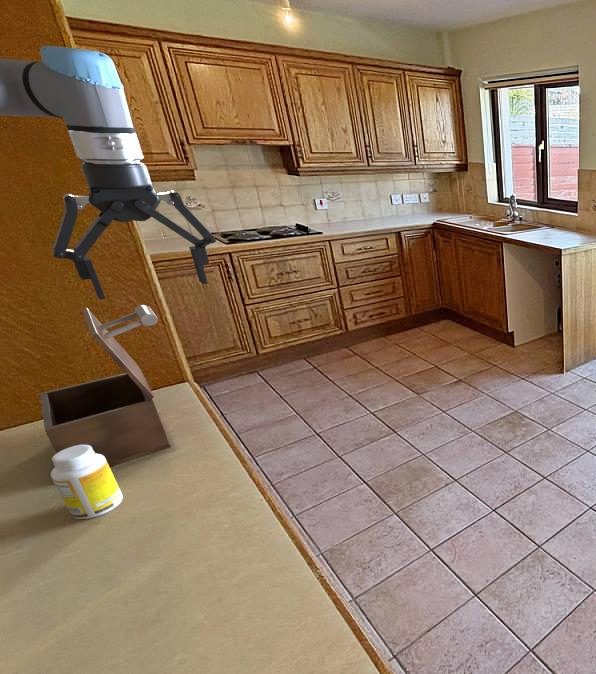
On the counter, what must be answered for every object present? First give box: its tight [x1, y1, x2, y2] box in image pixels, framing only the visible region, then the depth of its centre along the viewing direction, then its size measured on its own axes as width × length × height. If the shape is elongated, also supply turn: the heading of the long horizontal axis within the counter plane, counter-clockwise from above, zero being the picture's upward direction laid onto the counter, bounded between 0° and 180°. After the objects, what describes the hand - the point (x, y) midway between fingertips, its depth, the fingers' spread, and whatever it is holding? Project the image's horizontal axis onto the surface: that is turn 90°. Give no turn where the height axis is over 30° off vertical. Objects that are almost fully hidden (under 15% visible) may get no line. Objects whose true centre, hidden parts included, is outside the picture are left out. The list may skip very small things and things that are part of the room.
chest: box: [39, 372, 172, 468], centre depth 83 cm, size 13×16×10 cm
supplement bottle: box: [50, 445, 123, 520], centre depth 70 cm, size 6×6×10 cm
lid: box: [82, 304, 159, 399], centre depth 84 cm, size 14×16×8 cm
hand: (155, 289), depth 83 cm, fingers open, 13 cm apart
